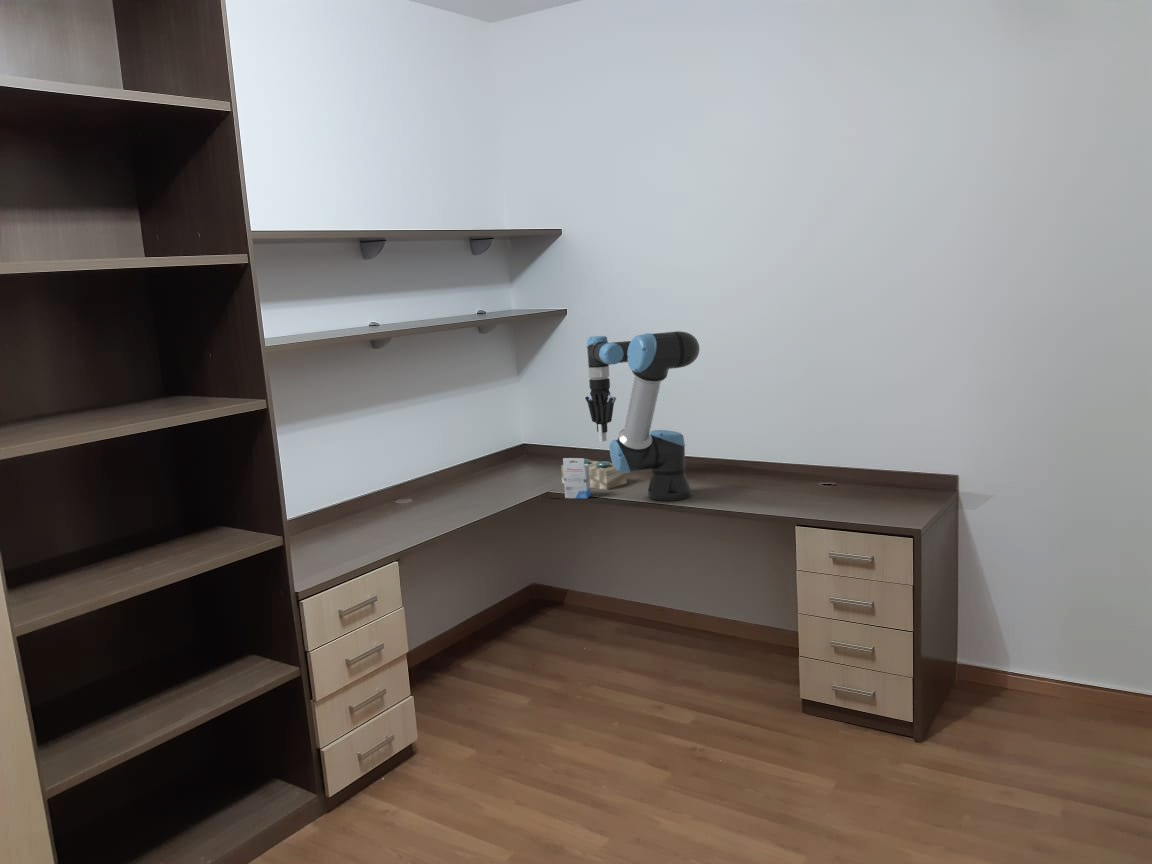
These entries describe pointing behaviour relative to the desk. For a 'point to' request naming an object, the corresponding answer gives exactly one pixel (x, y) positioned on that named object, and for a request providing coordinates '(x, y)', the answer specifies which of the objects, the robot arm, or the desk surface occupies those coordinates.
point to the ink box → (576, 478)
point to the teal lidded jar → (585, 461)
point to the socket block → (603, 476)
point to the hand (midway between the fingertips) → (602, 441)
